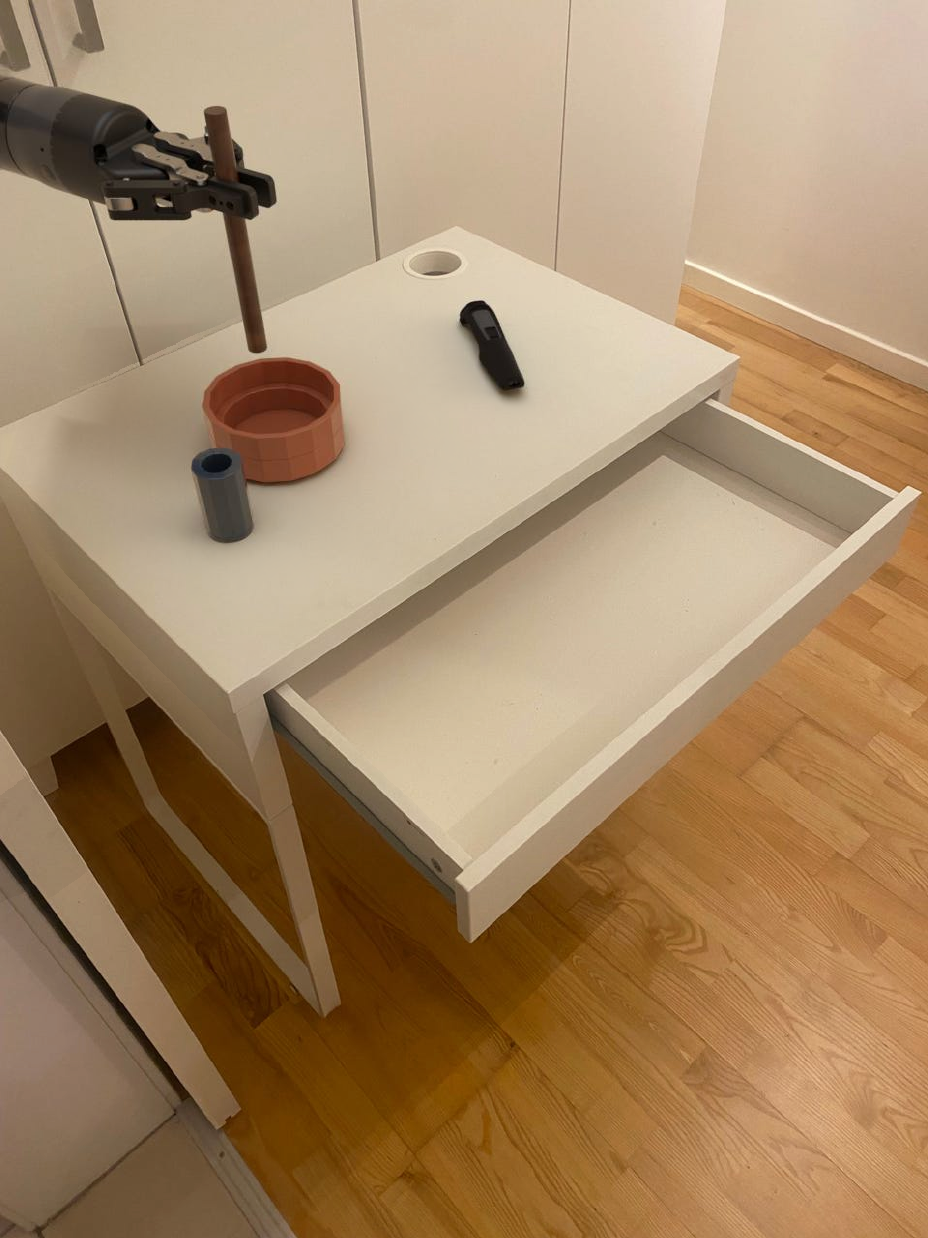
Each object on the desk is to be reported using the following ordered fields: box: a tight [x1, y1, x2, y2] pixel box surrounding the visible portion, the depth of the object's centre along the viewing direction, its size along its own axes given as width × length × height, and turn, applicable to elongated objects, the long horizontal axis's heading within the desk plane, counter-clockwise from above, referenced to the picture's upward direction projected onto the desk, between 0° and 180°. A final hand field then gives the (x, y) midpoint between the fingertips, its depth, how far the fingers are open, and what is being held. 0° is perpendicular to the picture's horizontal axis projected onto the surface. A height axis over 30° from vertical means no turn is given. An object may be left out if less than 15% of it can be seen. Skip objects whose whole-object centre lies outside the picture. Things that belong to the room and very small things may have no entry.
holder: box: [190, 447, 255, 543], centre depth 80 cm, size 4×4×7 cm
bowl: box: [201, 356, 346, 483], centre depth 88 cm, size 12×12×6 cm
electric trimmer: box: [459, 299, 525, 391], centre depth 99 cm, size 4×16×3 cm, turn 15°
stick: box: [203, 105, 268, 354], centre depth 74 cm, size 2×2×19 cm
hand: (263, 198), depth 70 cm, fingers closed on stick, 1 cm apart
